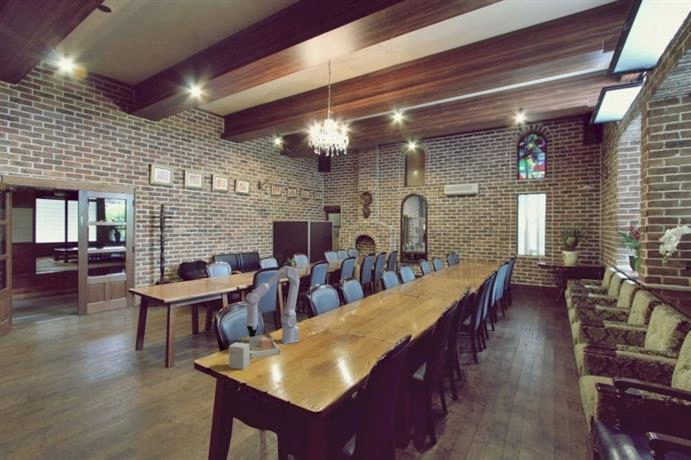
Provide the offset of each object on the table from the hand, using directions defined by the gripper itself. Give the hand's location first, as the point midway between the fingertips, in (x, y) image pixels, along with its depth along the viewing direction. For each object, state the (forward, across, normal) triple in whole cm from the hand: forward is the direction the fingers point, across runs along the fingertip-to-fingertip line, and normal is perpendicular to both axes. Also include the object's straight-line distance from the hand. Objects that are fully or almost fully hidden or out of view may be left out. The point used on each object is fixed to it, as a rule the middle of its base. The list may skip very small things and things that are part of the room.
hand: (252, 339), depth 184 cm
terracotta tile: (+2, +6, +6) cm, 9 cm away
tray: (+5, +10, +4) cm, 11 cm away
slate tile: (+1, +3, 0) cm, 4 cm away
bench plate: (+5, -3, +4) cm, 7 cm away
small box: (+5, +22, -10) cm, 25 cm away
